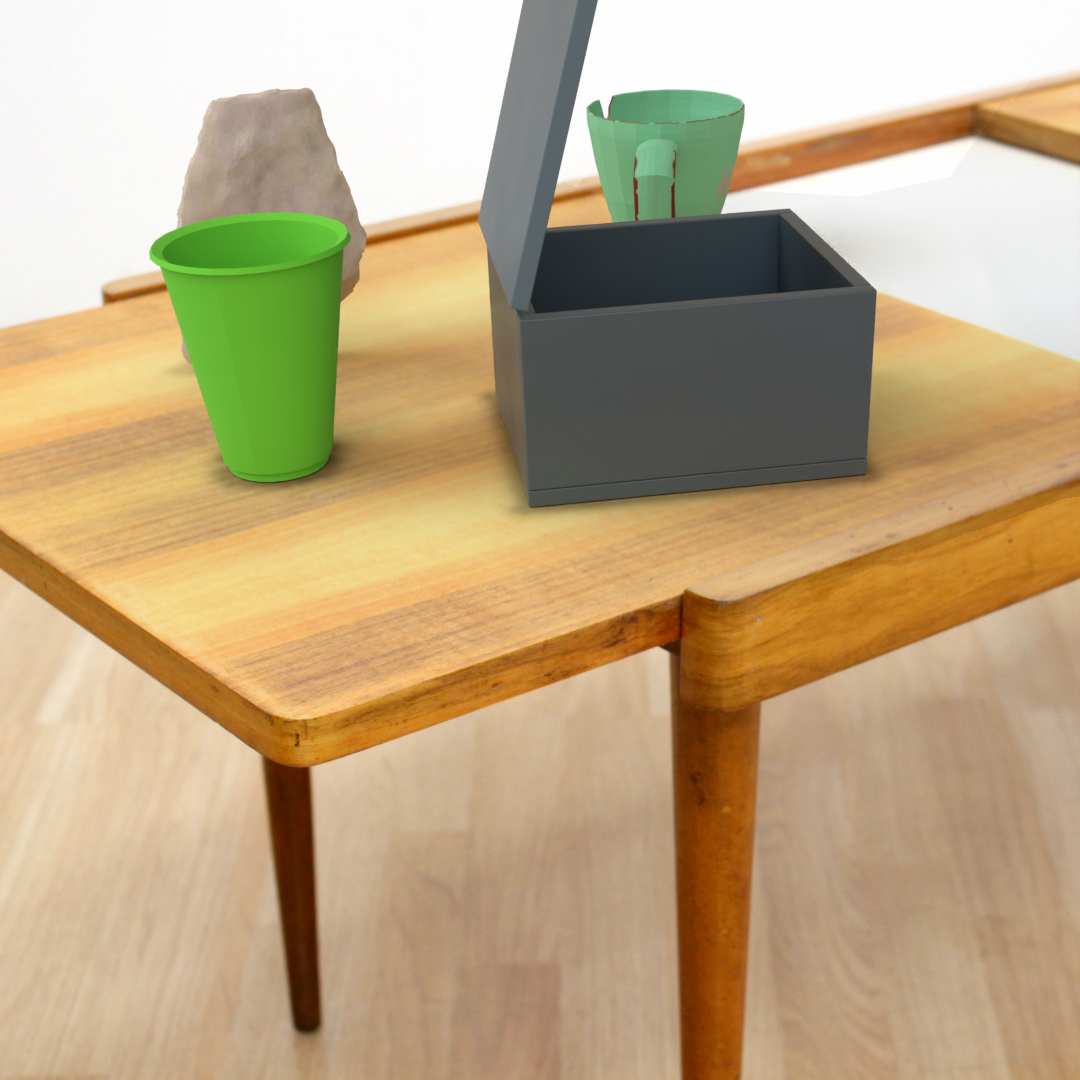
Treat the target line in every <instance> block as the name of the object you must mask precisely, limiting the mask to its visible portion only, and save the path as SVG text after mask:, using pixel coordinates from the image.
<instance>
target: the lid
mask: <svg viewBox="0 0 1080 1080" xmlns="http://www.w3.org/2000/svg"><path fill="white" fill-rule="evenodd" d="M598 1H599V0H522V4H521V9H520V14H519V18H518V24H517V28H516V33H515V38H514V44H513V47H512V52H511V58H510V63H509V67H508V72H507V77H506V82H505V85H504V86H505V88H504V91H503V96H502V101H501V106H500V111H499V115H498V121H497V127H496V131H495V135H494V140H493V144H492V151H491V155H490V160H489V165H488V169H487V173H486V180H485V183H484V185H485V186H484V188H483V194H482V199H481V204H480V208H479V213H478V217H477V223H478V226H479V228H480V231H481V233H482V237H483V239H484V242H485V244H486V248H487V247H488V250H489V253H490V255H491V258H492V261H493V263H494V266H495V269H496V271H497V274H498V277H499V279H500V282H501V285H502V287H503V290H504V293H505V296H506V298H507V301H508V304H509V306H510V308H511V309H517V310H523V311H528V309H529V305H530V300H531V296H532V291H533V287H534V283H535V278H536V274H537V269H538V265H539V260H540V256H541V251H542V247H543V243H544V238H545V234H546V229H547V228H548V224H549V221H550V220H549V219H550V215H551V211H552V206H553V201H554V198H555V193H556V188H557V185H558V179H559V176H560V172H561V167H562V162H563V157H564V153H565V149H566V145H567V140H568V135H569V131H570V130H569V129H570V126H571V122H572V117H573V114H574V109H575V105H576V100H577V96H578V91H579V86H580V82H581V78H582V73H583V70H584V64H585V60H586V56H587V52H588V51H587V50H588V47H589V42H590V37H591V33H592V28H593V23H594V20H595V16H596V10H597V7H598Z"/></svg>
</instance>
